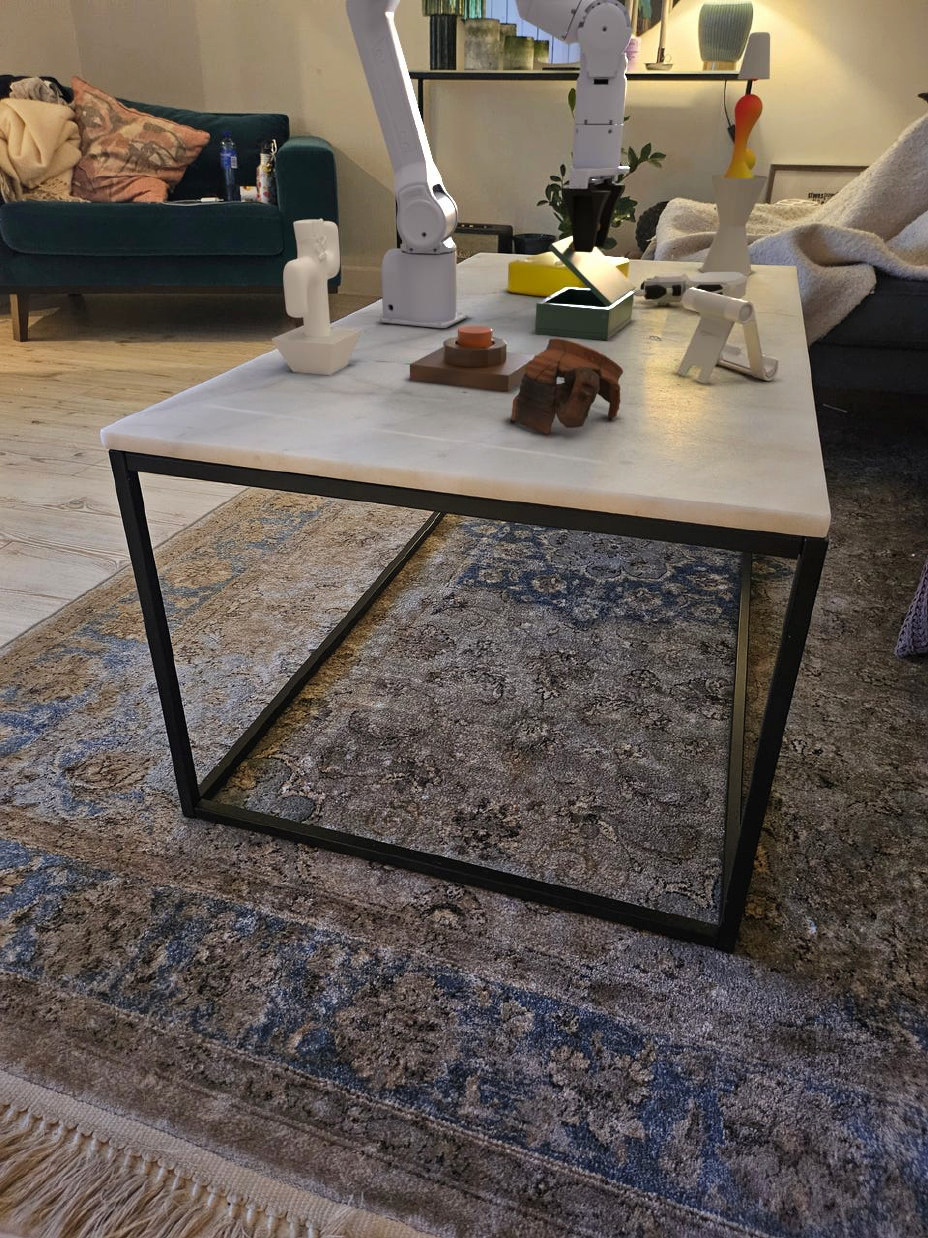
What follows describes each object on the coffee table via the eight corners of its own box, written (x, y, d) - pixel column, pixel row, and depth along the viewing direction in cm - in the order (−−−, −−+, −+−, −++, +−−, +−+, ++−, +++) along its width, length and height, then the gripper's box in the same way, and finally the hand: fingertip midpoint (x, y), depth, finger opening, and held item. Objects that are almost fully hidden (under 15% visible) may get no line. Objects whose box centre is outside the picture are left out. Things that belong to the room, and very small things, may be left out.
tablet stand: (775, 380, 93) (791, 297, 88) (717, 389, 90) (730, 303, 85) (721, 361, 99) (732, 283, 95) (665, 369, 96) (674, 289, 92)
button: (452, 348, 91) (452, 331, 90) (465, 341, 94) (465, 324, 93) (484, 351, 90) (484, 334, 89) (496, 344, 93) (497, 327, 92)
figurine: (269, 376, 93) (252, 222, 86) (311, 355, 101) (299, 212, 93) (330, 382, 91) (318, 225, 84) (368, 361, 99) (361, 215, 91)
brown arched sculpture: (492, 415, 83) (528, 332, 82) (577, 455, 86) (613, 376, 84) (527, 421, 72) (569, 324, 70) (624, 467, 74) (666, 375, 73)
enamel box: (534, 333, 111) (536, 303, 109) (564, 315, 121) (565, 286, 119) (607, 340, 108) (609, 309, 106) (631, 321, 118) (634, 292, 116)
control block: (409, 380, 92) (408, 346, 90) (444, 360, 99) (444, 328, 97) (507, 392, 88) (508, 357, 87) (536, 371, 95) (538, 338, 94)
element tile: (631, 287, 140) (634, 255, 138) (590, 302, 129) (593, 267, 127) (547, 278, 147) (549, 247, 144) (502, 292, 136) (503, 259, 134)
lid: (547, 247, 106) (569, 219, 103) (577, 236, 116) (598, 210, 113) (608, 307, 106) (631, 281, 104) (632, 291, 116) (654, 266, 114)
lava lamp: (743, 277, 149) (781, 29, 131) (692, 272, 153) (722, 31, 136) (759, 270, 155) (797, 33, 138) (709, 265, 160) (740, 35, 142)
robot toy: (629, 315, 125) (737, 316, 120) (629, 281, 123) (740, 280, 117) (649, 300, 135) (750, 300, 129) (650, 268, 133) (753, 267, 127)
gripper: (616, 125, 96) (605, 258, 103) (646, 123, 107) (635, 243, 114) (554, 124, 98) (548, 255, 105) (590, 123, 110) (582, 240, 117)
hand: (589, 248), depth 110 cm, fingers closed on lid, 5 cm apart
